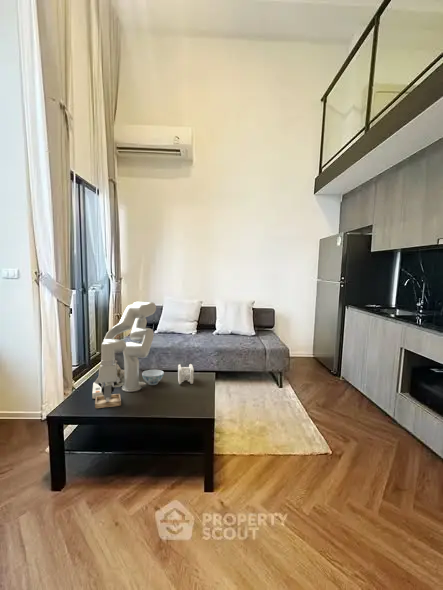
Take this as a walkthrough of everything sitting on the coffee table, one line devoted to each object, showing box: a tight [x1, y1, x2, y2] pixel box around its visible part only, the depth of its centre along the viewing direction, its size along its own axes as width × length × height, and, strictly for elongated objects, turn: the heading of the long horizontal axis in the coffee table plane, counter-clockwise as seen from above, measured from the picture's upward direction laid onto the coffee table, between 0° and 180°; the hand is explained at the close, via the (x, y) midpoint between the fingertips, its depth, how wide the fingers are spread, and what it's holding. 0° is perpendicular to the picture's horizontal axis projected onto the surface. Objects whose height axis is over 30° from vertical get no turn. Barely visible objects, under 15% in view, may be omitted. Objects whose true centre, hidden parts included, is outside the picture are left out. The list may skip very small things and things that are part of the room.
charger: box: [103, 385, 112, 402], centre depth 185 cm, size 4×6×8 cm
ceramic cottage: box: [104, 362, 124, 389], centre depth 219 cm, size 16×16×15 cm
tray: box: [94, 393, 122, 409], centre depth 187 cm, size 14×12×3 cm
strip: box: [91, 381, 104, 400], centre depth 203 cm, size 6×20×4 cm, turn 20°
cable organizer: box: [177, 363, 195, 385], centre depth 227 cm, size 15×11×12 cm
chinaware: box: [141, 369, 165, 386], centre depth 222 cm, size 15×15×8 cm
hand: (107, 392), depth 186 cm, fingers closed on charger, 4 cm apart
